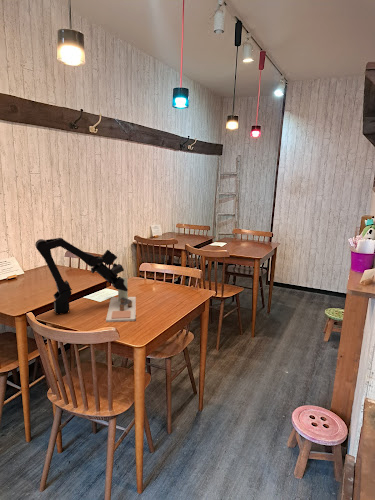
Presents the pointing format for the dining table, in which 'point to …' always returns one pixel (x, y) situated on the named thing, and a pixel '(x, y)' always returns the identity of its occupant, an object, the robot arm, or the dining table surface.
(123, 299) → the brown arch piece
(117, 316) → the mat
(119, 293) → the grey upright cylinder
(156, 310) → the dining table surface
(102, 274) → the robot arm
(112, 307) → the base board
